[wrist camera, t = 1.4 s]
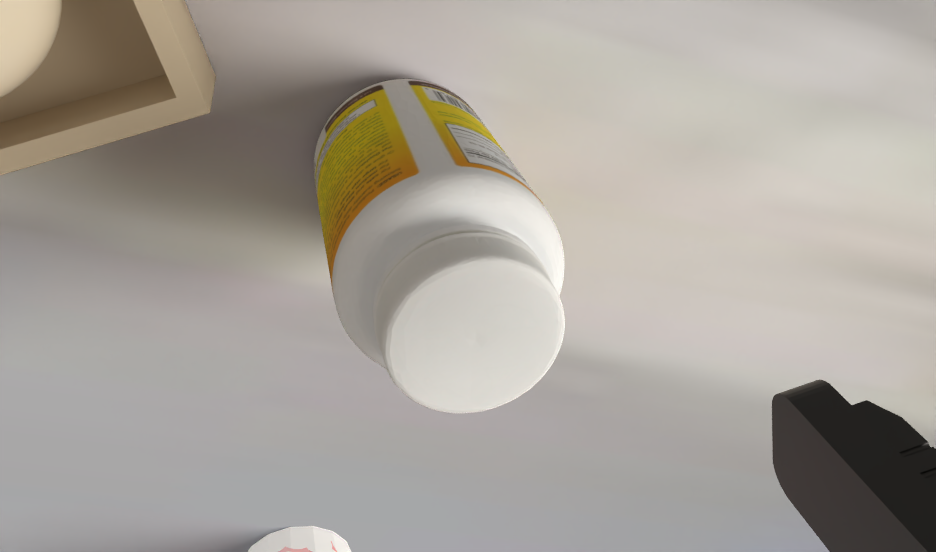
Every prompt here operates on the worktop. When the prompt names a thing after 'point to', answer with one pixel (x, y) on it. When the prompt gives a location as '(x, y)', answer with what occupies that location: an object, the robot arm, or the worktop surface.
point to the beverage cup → (301, 541)
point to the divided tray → (107, 80)
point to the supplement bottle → (437, 248)
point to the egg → (25, 38)
